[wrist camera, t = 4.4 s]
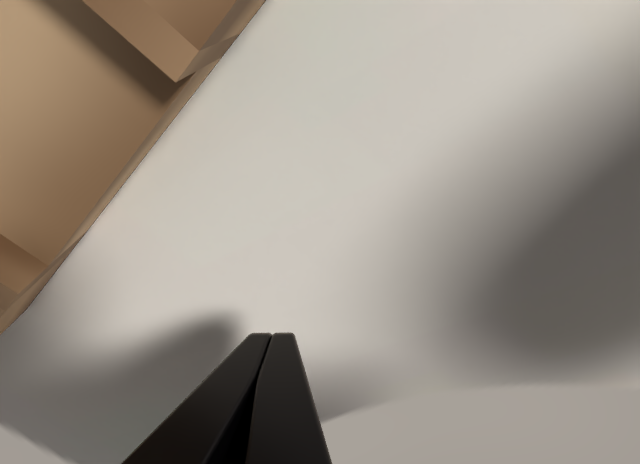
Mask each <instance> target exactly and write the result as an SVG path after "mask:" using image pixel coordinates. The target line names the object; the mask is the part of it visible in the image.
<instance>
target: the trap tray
mask: <svg viewBox="0 0 640 464" xmlns="http://www.w3.org/2000/svg"><path fill="white" fill-rule="evenodd" d="M265 1H266V0H0V335H1V334H2V333H3V332H4V331H5V330H6V329H7V328H8V327H9V326H10V325H11V324H12V323H13V322H14V321H15V320H16V319H17V318H18V317H19V316H20V315H21V314H22V313H23V312H24V311H25V310H26V309H27V308H28V306H29V305H30V304H31V303H32V301H33V300H34V299H35V297H36V296H37V295H38V294H39V292H40V291H41V290H42V288H43V287H44V286H45V285H46V283H47V282H48V281H49V279H50V278H51V277H52V276H53V274H54V273H55V272H56V270H57V269H58V268H59V266H60V265H61V264H62V263H63V261H64V260H65V259H66V257H67V256H68V255H69V254H70V252H71V251H72V250H73V248H74V247H75V246H76V245H77V243H78V242H79V241H80V239H81V238H82V237H83V236H84V234H85V233H86V232H87V230H88V229H89V228H90V226H91V225H92V224H93V223H94V221H95V220H96V219H97V217H98V216H99V215H100V214H101V212H102V211H103V210H104V208H105V207H106V206H107V205H108V203H109V202H110V201H111V199H112V198H113V197H114V196H115V194H116V193H117V192H118V190H119V189H120V188H121V186H122V185H123V184H124V183H125V181H126V180H127V179H128V177H129V176H130V175H131V174H132V172H133V171H134V170H135V168H136V167H137V166H138V165H139V163H140V162H141V161H142V159H143V158H144V157H145V156H146V154H147V153H148V152H149V150H150V149H151V148H152V146H153V145H154V144H155V143H156V141H157V140H158V139H159V137H160V136H161V135H162V134H163V132H164V131H165V130H166V128H167V127H168V126H169V125H170V123H171V122H172V121H173V119H174V118H175V117H176V116H177V114H178V113H179V112H180V110H181V109H182V108H183V107H184V105H185V104H186V103H187V101H188V100H189V99H190V97H191V96H192V95H193V94H194V92H195V91H196V90H197V88H198V87H199V86H200V85H201V83H202V82H203V81H204V79H205V78H206V77H207V76H208V74H209V73H210V72H211V70H212V69H213V68H214V67H215V65H216V64H217V63H218V61H219V60H220V59H221V57H222V56H223V55H224V54H225V52H226V51H227V50H228V48H229V47H230V46H231V45H232V43H233V42H234V41H235V39H236V38H237V37H238V36H239V34H240V33H241V32H242V30H243V29H244V28H245V27H246V25H247V24H248V23H249V21H250V20H251V19H252V17H253V16H254V15H255V14H256V12H257V11H258V10H259V8H260V7H261V6H262V5H263V3H264V2H265Z"/></svg>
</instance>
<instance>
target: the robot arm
mask: <svg viewBox="0 0 640 464" xmlns="http://www.w3.org/2000/svg"><path fill="white" fill-rule="evenodd" d="M121 464H332V462H331V459H330V455H329V452H328V448H327V445H326V441H325V438H324V435H323V431H322V428H321V424H320V421H319V417H318V414H317V410H316V407H315V403H314V400H313V397H312V393H311V390H310V386H309V383H308V379H307V376H306V372H305V369H304V366H303V362H302V359H301V355H300V352H299V348H298V345H297V341H296V338H295V335H294V334H293V333H275V334H273V335H272V334H270V333H252V334H250V335H249V336H248V337H247V338H246V339H245V340H244V341H243V342H242V343H241V344H240V345H239V346H238V347H237V348H236V349H235V350H234V351H233V352H232V353H231V354H230V355H229V356H228V357H227V358H226V359H225V360H224V361H223V362H222V363H221V364H220V365H219V366H218V367H217V368H216V369H215V370H214V371H213V372H212V373H211V374H210V375H209V376H208V377H207V378H206V379H205V380H204V381H203V382H202V383H201V384H200V385H199V386H198V387H197V388H196V389H195V390H194V391H193V392H192V393H191V394H190V395H189V396H188V397H187V398H186V399H185V400H184V401H183V402H182V403H181V404H180V405H179V406H178V407H177V408H176V409H175V410H174V411H173V412H172V413H171V414H170V415H169V416H168V417H167V418H166V419H165V420H164V421H163V422H162V423H161V424H160V425H159V426H158V427H157V428H156V429H155V430H154V431H153V432H152V433H151V434H150V435H149V436H148V437H147V438H146V439H145V440H144V441H143V442H142V443H141V444H140V445H139V446H138V447H137V448H136V449H135V450H134V451H133V452H132V453H131V454H130V455H129V456H128V457H127V458H126V459H125V460H124V461H123V462H122V463H121Z"/></svg>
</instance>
